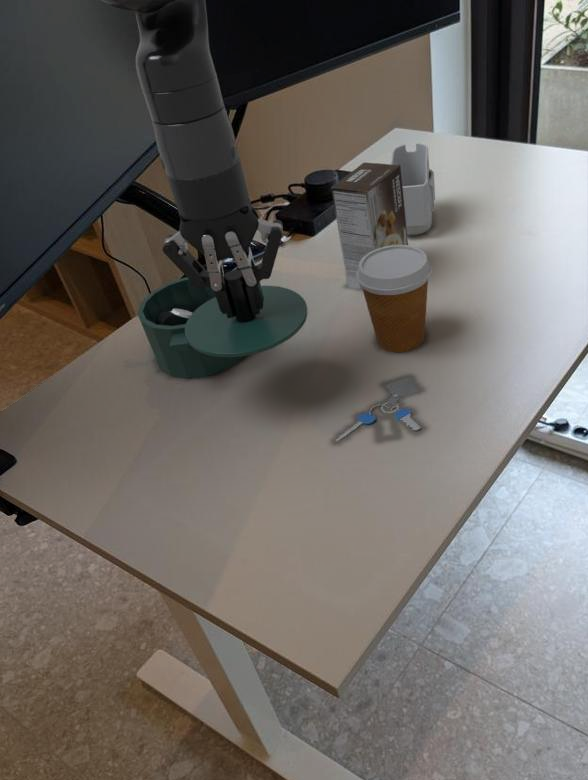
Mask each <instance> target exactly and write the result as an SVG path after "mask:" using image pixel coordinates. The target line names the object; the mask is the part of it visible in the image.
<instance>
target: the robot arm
mask: <svg viewBox="0 0 588 780" xmlns="http://www.w3.org/2000/svg"><path fill="white" fill-rule="evenodd" d="M100 1H101V2H103V3H105V4H107V5H109V6H110V7H111V6H112V7H113V8H117V9H119V10H122V11H125V12H128V13H132V14H135V18H136V22H137V28H138V32H139V44H138V48H137V49H136V50H137V51H136V54H135V58H134V59H135V69H136V73H137V78H138V82H139V85H140V88H141V92H142V94H143V97H144V101H145V104H146V108H147V110H148V113H149V117H150V119H151V124H152V127H153V131H154V139H155V142H156V146H157V150H158V153H159V159H160V163H161V166H162V169H164V172H165V176H166V179H167V182H168V185H169V188H170V190H171V194H172V197H173V201H174V203H175V206H176V209H177V213H178V216H179V219H180V224H179V230H178V231H177V232H176V233H174V234H168V235H167V236H166V238H165V240H164V242H163V246H162V252H163V254H164V255H165V256H166V257H167V258H168V259H169V260H170V262H172V263H173V264H174V265H175V266H176V267H177V268H178V269H179V271H180V272H181V273H182V274H183V275H184V276H185V277H187V278H188V279H189V280H190V281H191V282H192V283H193V284H194V285H195V286H196V287H197V288H203V287H209V288H211V289H213V290H214V292H215V295H216V299H217V302H218V305H219V308H220V311H221V312H222V313H223V314H227V317H228V318H233V317H234V316H235V315H234V312H233V308H232V305H231V301H230V298H229V295H228V291H227V288H226V284H225V281H224V275H225V272H224V266H223V260H225V259H234V260H235V263H236V266H237V268H238V270H241V272H242V275H243V277H244V279H245V282H246V290H247V294H248V298H249V301H250V305H251V309H252V313H253V315H256V314H260V309H263V303H264V296H263V292H262V288H261V286H262V285H261V281H264V280H268V279H270V278H271V276H272V273H273V270H274V266H275V262H276V258H277V255H278V251H279V248H280V245H281V241H282V237H283V229H284V224H283V222H282V221H281V220H280V219H275V220H273V221H269V220H266V219H263V218H260V215H259V214H258V212H257V211H256V210H255V208H254V207H253V204H252V203H251V199H250V195H249V191H248V187H247V183H246V179H245V174H244V170H243V167H242V162H241V157H240V153H239V150H238V145H237V140H236V136H235V133H234V129H233V126H232V123H231V120H230V118H229V116H228V112H227V109H226V107H225V104H224V100H223V95H222V92H221V87H220V82H219V79H218V74H217V70H216V67H215V63H214V60H213V58H212V54H211V53H212V52H211V48H210V37H209V36H210V35H209V24H208V23H209V22H208V15H207V13H208V12H207V4H206V0H100ZM257 231H258V232H259V233H260V236H261V237H260V238H261V241H262V242H263V243H264V244H266V245H265V248H264V251H263V256H262V259H261V262H260V263H258V264H256V261H255V260H254V257H253V252H252V249H251V244H252V242H253V240H254V238H255V236H256V234H257ZM189 244H190V245H191V246H192V247H193V248H194V249H195V250H196V251H198V252H199V253H200V254H201V255H203V256H204V259H205V265H206V268H205V266H203V265H202V264H201V263H200V262H199V261H198V259H197V258H196V257H195V256H194V255H193V254H192V253H191V252H190V251H189V250H188V249H189Z"/></svg>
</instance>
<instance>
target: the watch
mask: <svg viewBox="0 0 588 780" xmlns="http://www.w3.org/2000/svg"><path fill="white" fill-rule="evenodd" d="M176 315H177V316H180V317H184V318H189V317H190V316H191V315H192V312H189V311H186V310H182V309H176V308H174V309H172V311H166V312H162V313H160V314H159V315H158V317H157V318H156V324H157V325H163V324H164V321H165V320H166V319H167V318H169V317H171V316H176Z"/></svg>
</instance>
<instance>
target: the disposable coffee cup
mask: <svg viewBox="0 0 588 780" xmlns="http://www.w3.org/2000/svg"><path fill="white" fill-rule="evenodd" d="M431 273H432V263H431V262H430V260H429V258H428V256H427V253H426V252H425V251H424V250H422V249H421V248H419V247H416V246H412V245H409V244H408V245H392V246H386V247H382V248H379V249H376V250H373V251H371V252H369V253H368V254H366V255H365V256H364V257H363V258H362V259H361V261H360V262H359V269H358V270H357V274H356V276H357V280H358V282H359V283H360V285H361V287H362V289H363V290H362V289H361V290H362V292H363V293H362V294H363V296H364V299H365V304H366V306H367V310H368V313H369V317H370V321H371V324H372V328H373V331H374V334H375V339H376V341H377V344H378V346H379V347H380V348H381V349H383V350H384V351H386V352H390V353H405V352H409V351H412V350H414V349H416V348H418V347H419V346H421V344H422V343H424V340H425V333H426V332H425V330H426V319H427V318H426V317H427V302H428V287H429V285H428V284H429V279H430V275H431Z"/></svg>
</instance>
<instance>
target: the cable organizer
mask: <svg viewBox="0 0 588 780" xmlns="http://www.w3.org/2000/svg"><path fill="white" fill-rule="evenodd" d="M429 155H430V154H429V147H428V146H427V145H426V144H424V143H421V142H420V143H419V142H416V143H415V150H411V151H407V148H406V144H401V145H399V146H397V147H395V148H394V149H393V150H392V151H391V159H390V165H401V176H402V186H403V197H404V207H405V217H406V228H407V236H418V235H422V234H424V233H426V232H428V231H429V230H430V228H431V227H432V222H433V221H432V220H433V212H435V200H436V187H435V185H436V184H435V173H434V171H433V170H432V169H430V157H429Z"/></svg>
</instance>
